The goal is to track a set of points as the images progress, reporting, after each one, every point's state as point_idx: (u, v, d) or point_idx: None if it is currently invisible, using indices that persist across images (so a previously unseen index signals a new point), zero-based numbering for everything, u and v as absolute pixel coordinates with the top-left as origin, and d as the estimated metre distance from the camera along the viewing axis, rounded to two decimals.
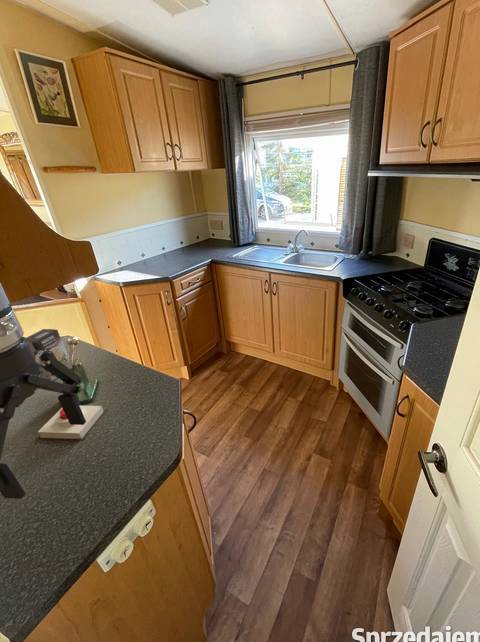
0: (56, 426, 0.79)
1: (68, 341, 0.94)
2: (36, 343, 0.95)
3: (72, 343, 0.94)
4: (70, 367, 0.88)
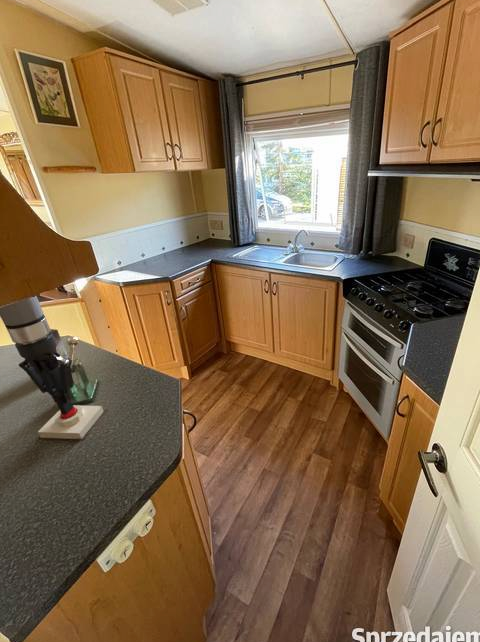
0: (56, 426, 0.79)
1: (68, 341, 0.94)
2: None
3: (72, 343, 0.94)
4: None
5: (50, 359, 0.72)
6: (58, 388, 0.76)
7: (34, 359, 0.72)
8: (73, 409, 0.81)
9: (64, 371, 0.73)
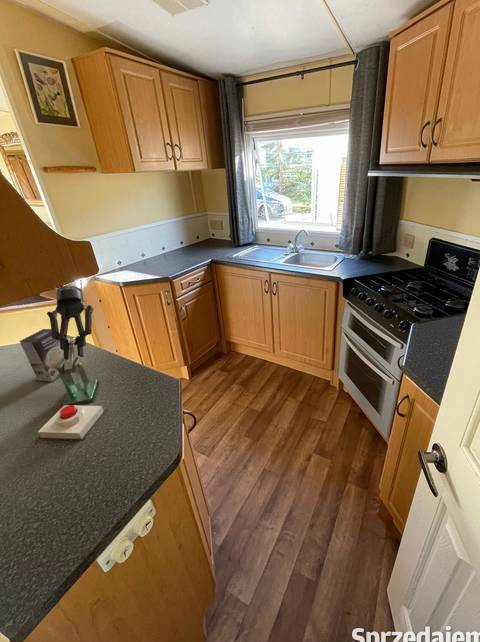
0: (56, 426, 0.79)
1: (68, 341, 0.94)
2: (36, 343, 0.95)
3: (72, 343, 0.94)
4: (70, 367, 0.88)
5: (79, 304, 0.99)
6: (80, 329, 0.96)
7: (65, 306, 0.98)
8: (72, 408, 0.81)
9: (89, 312, 0.99)
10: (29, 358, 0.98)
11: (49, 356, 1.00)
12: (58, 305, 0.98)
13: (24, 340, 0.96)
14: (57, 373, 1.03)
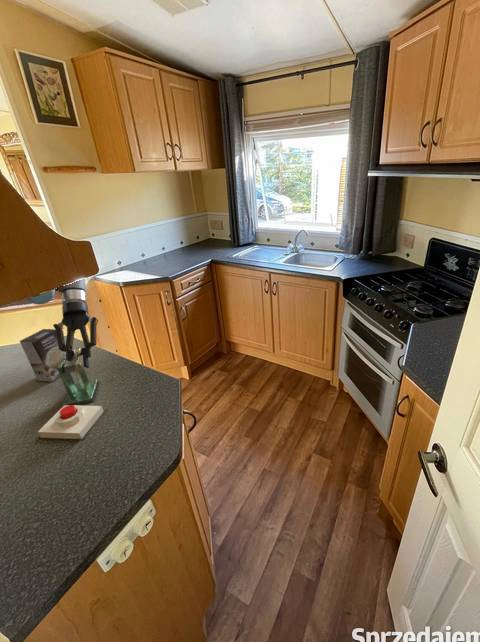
0: (56, 426, 0.79)
1: (74, 350, 0.97)
2: (36, 343, 0.95)
3: (77, 352, 0.97)
4: (70, 365, 0.88)
5: (84, 316, 1.02)
6: (86, 341, 0.99)
7: (70, 318, 1.01)
8: (72, 408, 0.81)
9: (94, 324, 1.02)
10: (29, 358, 0.98)
11: (49, 356, 1.00)
12: (64, 317, 1.00)
13: (24, 340, 0.96)
14: (57, 373, 1.03)
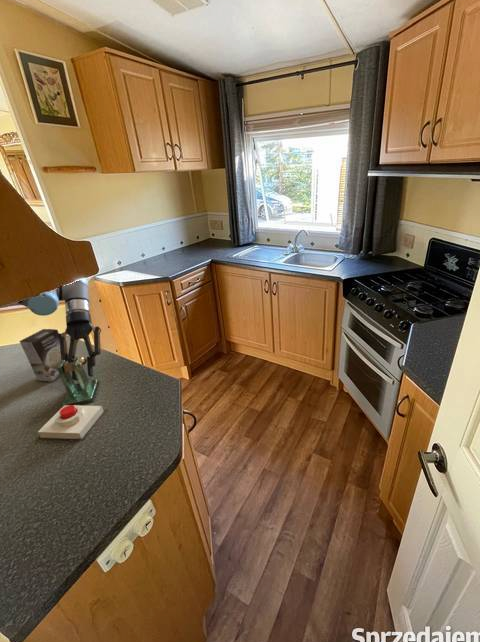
0: (56, 426, 0.79)
1: None
2: (36, 343, 0.95)
3: None
4: (70, 363, 0.89)
5: (87, 326, 1.03)
6: (90, 350, 1.00)
7: (74, 328, 1.02)
8: (72, 408, 0.81)
9: (97, 333, 1.03)
10: (29, 358, 0.98)
11: (49, 356, 1.00)
12: (67, 327, 1.02)
13: (24, 340, 0.96)
14: (57, 373, 1.03)
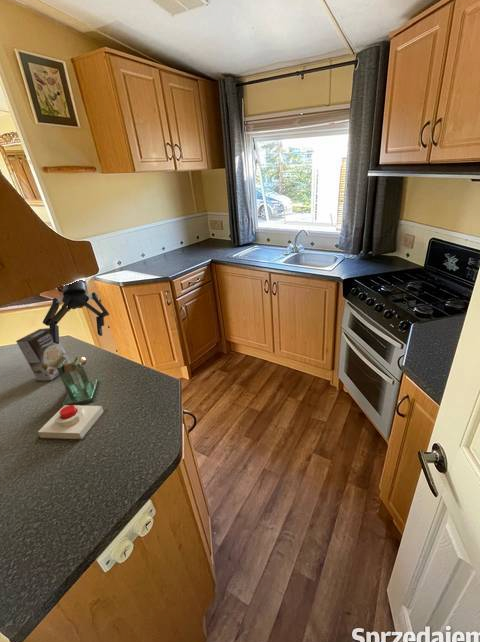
0: (56, 426, 0.79)
1: None
2: (32, 341, 0.95)
3: None
4: (70, 363, 0.89)
5: (84, 296, 1.06)
6: (97, 311, 1.05)
7: None
8: (72, 408, 0.81)
9: (96, 297, 1.06)
10: (27, 358, 0.98)
11: (47, 354, 1.00)
12: (64, 296, 1.04)
13: (20, 340, 0.96)
14: (56, 372, 1.03)
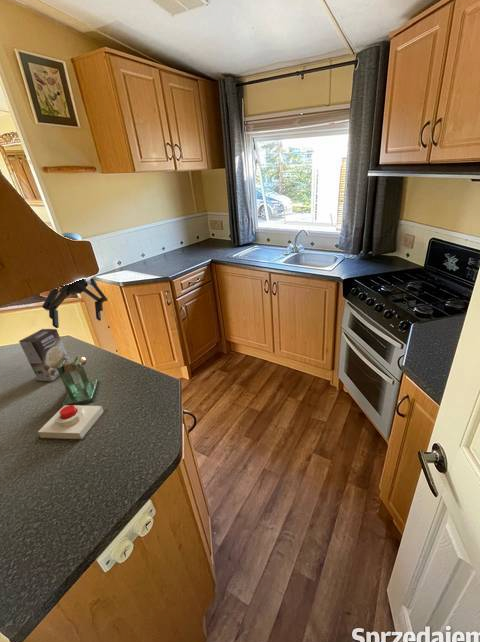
0: (56, 426, 0.79)
1: None
2: (35, 343, 0.95)
3: None
4: (70, 363, 0.89)
5: (82, 281, 1.08)
6: (95, 296, 1.06)
7: None
8: (72, 408, 0.81)
9: (95, 283, 1.08)
10: (29, 358, 0.98)
11: (49, 355, 1.00)
12: None
13: (23, 340, 0.96)
14: (57, 373, 1.03)
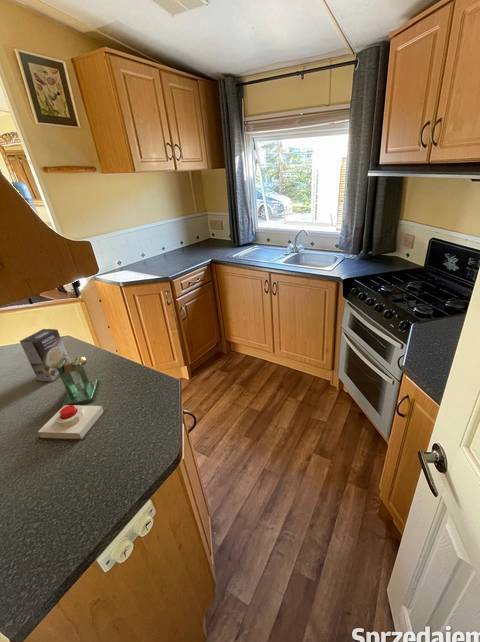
0: (56, 426, 0.79)
1: None
2: (36, 343, 0.95)
3: None
4: (70, 363, 0.89)
5: None
6: None
7: None
8: (72, 408, 0.81)
9: None
10: (29, 358, 0.98)
11: (50, 356, 1.00)
12: None
13: (24, 340, 0.96)
14: (57, 373, 1.03)
